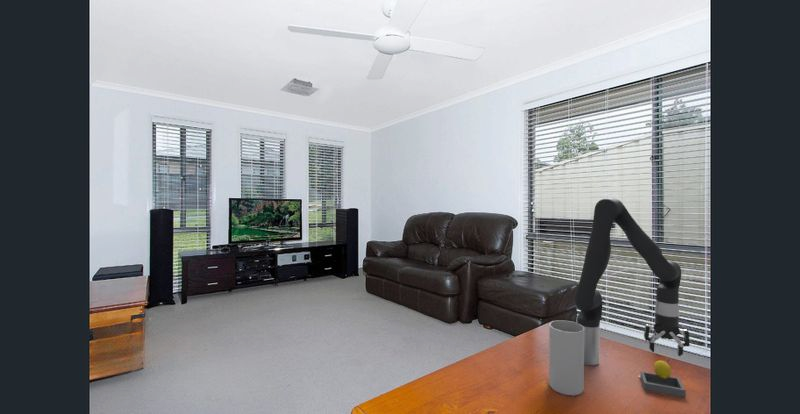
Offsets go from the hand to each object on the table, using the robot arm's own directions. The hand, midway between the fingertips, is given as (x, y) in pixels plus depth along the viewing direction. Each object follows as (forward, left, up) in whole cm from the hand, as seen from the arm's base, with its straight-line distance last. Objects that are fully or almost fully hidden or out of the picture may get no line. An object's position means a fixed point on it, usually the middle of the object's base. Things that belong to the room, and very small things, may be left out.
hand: (665, 353), depth 145 cm
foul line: (-1, +6, -14) cm, 15 cm away
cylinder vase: (-35, -15, -14) cm, 41 cm away
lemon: (0, 0, -10) cm, 10 cm away
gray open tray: (-1, 0, -14) cm, 14 cm away
